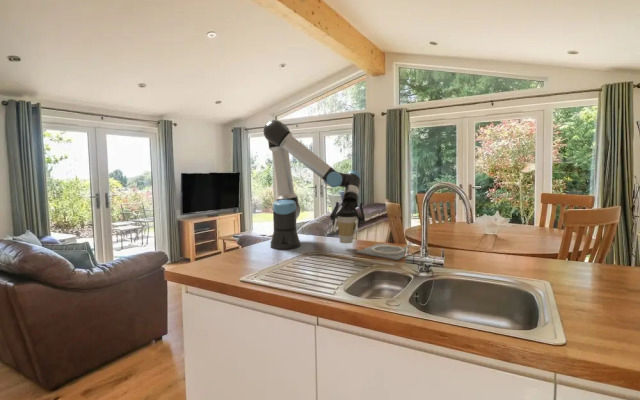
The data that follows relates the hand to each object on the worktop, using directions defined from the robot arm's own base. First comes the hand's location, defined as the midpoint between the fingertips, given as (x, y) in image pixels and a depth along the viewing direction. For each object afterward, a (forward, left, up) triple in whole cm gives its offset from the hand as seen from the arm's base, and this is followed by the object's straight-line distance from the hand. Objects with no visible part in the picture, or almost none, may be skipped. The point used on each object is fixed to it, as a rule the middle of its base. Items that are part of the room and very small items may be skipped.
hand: (345, 231), depth 168 cm
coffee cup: (-1, +3, -6) cm, 7 cm away
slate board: (+17, +10, -10) cm, 22 cm away
